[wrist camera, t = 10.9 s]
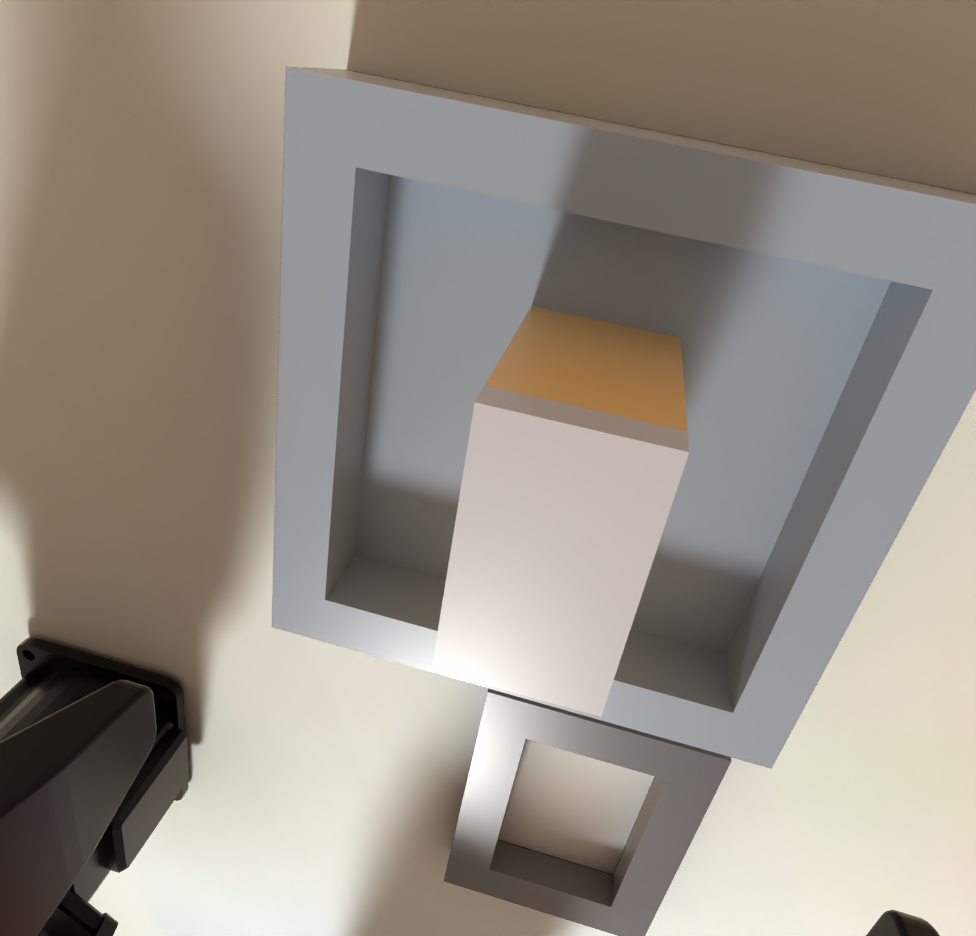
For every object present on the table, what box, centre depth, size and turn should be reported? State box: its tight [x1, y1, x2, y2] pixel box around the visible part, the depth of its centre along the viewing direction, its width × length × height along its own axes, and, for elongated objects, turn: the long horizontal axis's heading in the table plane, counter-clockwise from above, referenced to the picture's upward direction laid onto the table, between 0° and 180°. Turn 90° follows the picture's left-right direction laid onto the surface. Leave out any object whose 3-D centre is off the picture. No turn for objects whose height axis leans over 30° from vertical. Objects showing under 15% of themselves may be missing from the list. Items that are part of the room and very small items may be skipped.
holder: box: [444, 689, 731, 936], centre depth 25 cm, size 8×10×1 cm
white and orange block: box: [431, 306, 689, 717], centre depth 16 cm, size 4×6×6 cm, turn 173°
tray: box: [272, 67, 976, 768], centre depth 18 cm, size 14×14×3 cm
